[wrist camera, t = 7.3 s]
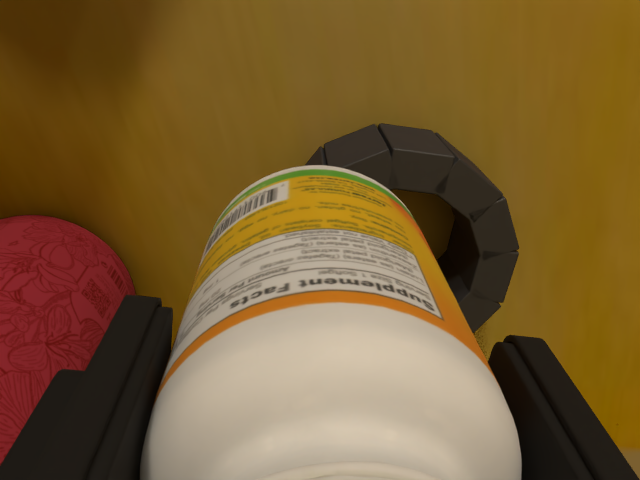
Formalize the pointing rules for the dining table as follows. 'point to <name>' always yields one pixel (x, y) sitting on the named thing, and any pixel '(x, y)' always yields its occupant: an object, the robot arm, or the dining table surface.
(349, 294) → the supplement bottle
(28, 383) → the wine bottle
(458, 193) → the tape roll
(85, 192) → the dining table surface
